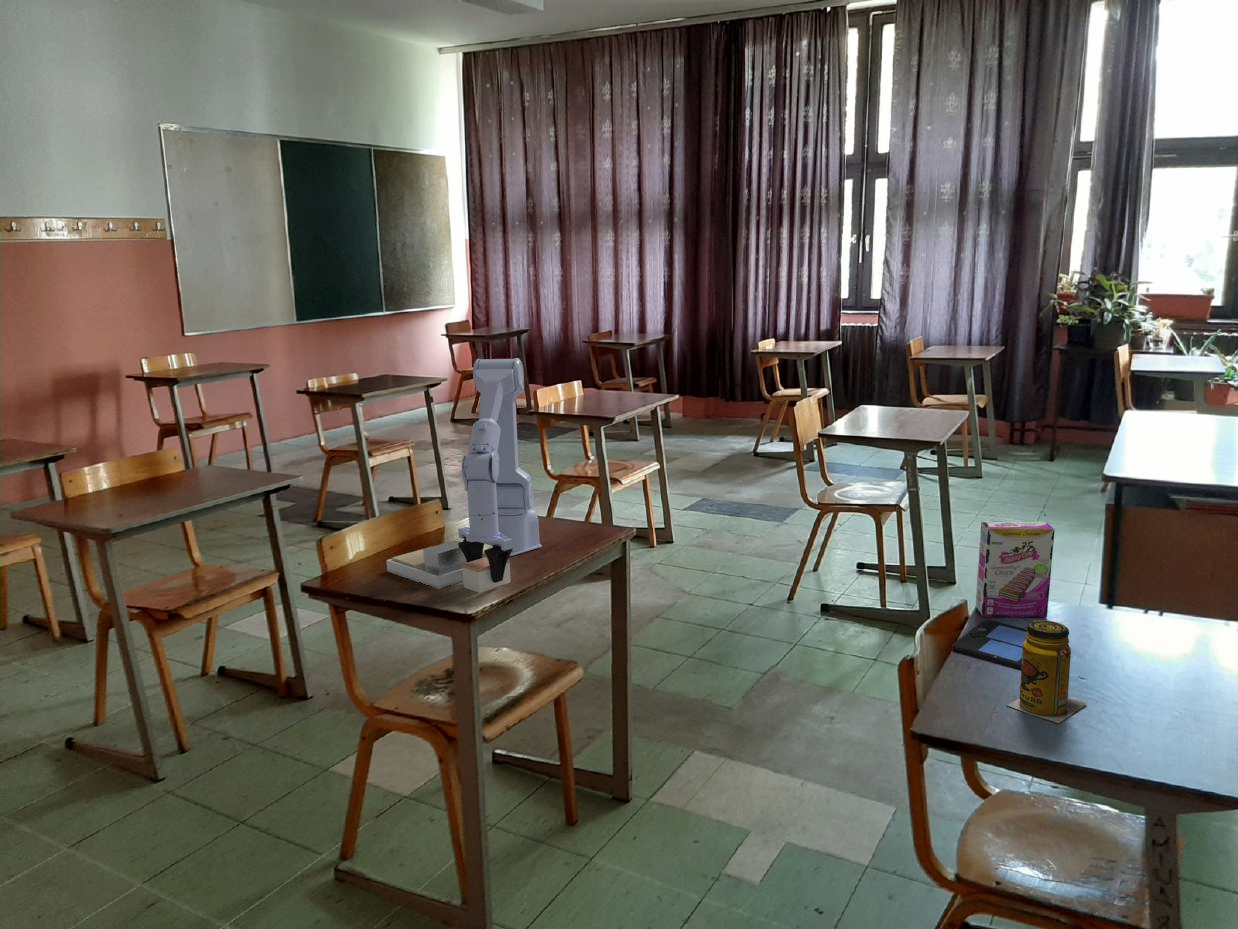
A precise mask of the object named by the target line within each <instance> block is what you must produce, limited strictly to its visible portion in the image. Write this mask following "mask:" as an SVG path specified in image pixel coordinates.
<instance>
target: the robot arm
mask: <svg viewBox="0 0 1238 929" xmlns="http://www.w3.org/2000/svg"><path fill="white" fill-rule="evenodd" d="M475 360H476V361H474V362H473V365H472V366H473V369H472V377H473V382H474V385H475V386H476V389H477V392H478V393H480V399H479V400H480V401H479V415H478V416H479V417H478V420H477V421H475V422H474V423H473V425H472V428H471V433H470V440H469V445H468V451H467V455H464V456H463V457H462V461H461V476H462V480H463V484H464V491H465V492H467V494H466V495H467V507H468V508H467V510H468V526H464V527H460V528H458V529H457V530H458V538H459V539H463V540H462V541H458V542H459V543H458V546H459V548H460V549H461V551H462V552H463V554H464V556H465V558H466V561H467V563H468V562H471V561H475V560H478V559H481V558H483V554H485V557H487V558H488V561H489V565H490V570H491V578H492V581H493V583H497V582H500V581H503V576H504V571H505V567H506V563H507V560H508V559H510V557H513V556H517V555H519V554H523V553H526V552H530V551H533V550H535V549H540V548H542V547H543V545H542V544H541V543H540V528H539V517H538V514H537V513H536V511H535V510H534V509H532V508H533V506H534V499H535V498H534V495H535V494H534V493H535V492H534V487H533V481H532V478H531V477H532V476H531V475H530V474H529V473H528V472H526V471H525V470H523V469H522V468H520V467H519V447H518V425H517V397H518V396H519V395H521V394H524V391H525V390H524V389H525V378H524V377H525V375H524V365H523V362H522V361H521V359H520V358H519V357H515V358H493V359H492V358H489V359H487V358H486V359H484V358H482V359H481V358H477V359H475ZM485 545H487V546H491V547H489V548H487V549H484V548H485ZM483 551H484V553H483Z"/></svg>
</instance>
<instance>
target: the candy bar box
mask: <svg viewBox="0 0 1238 929" xmlns="http://www.w3.org/2000/svg"><path fill="white" fill-rule="evenodd" d="M980 522H981V524H980V537H979V548H978V552H979V553H978V564H977V565H978V566H977V578H976V580H977V581H976V592H975V593H976V594H975V609H976V610H977V609H978V610H977V611H978V613H979V612H980V613H981V614H980V613H979V614H980V615H982V616H985V617H984V618H1024V617H1047V618H1048V609H1049V601H1050V600H1049V598H1050V597H1049V596H1050V590H1051V589H1050V587H1051V577H1052V576H1051V574H1052V567H1053V566H1052V565H1053V552H1054V541H1055V531H1056V530H1055V528H1054V527H1053V526H1052V525H1050V524H1049V523H1047V522H1046V521H1018V520H1017V521H1014V520H1013V521H1011V520H1009V521H1007V520H1005V521H1003V520H981V521H980ZM976 605H978V606H976ZM982 616H981V617H982Z"/></svg>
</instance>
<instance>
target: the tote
mask: <svg viewBox="0 0 1238 929" xmlns="http://www.w3.org/2000/svg"><path fill="white" fill-rule="evenodd" d="M433 546H434V545H433ZM433 546H431V547H433ZM426 548H427V547H426ZM426 548H422V549H417V550H415V551H410V552H407V553H404V554H403V553H402V554H400V555H397V556H393V557H391V558H388V559H387V560H385V561H386V570H387V573H391V574H394V575H396V576H400V577H403V578H405V579H407V578H408V580H411V581H413V582H417V583H419V582H421V583H423V584H422V585H424V584H426V585H425V586H427V585H430V586H432V587H431V588H433V587H434V588H433V589H436V590H440V589H445V588H447V586H448V587H450V586H449V585H451V586H453V585H456V583H457V584H459V582H460V583H463V569H460V570H457V571H453V572H450V573H447V574H443V575H440V576H436V575H433V574H430V573H427V572H425V567H424V553H423V549H426ZM421 583H420V584H421ZM430 586H429V587H430Z"/></svg>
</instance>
